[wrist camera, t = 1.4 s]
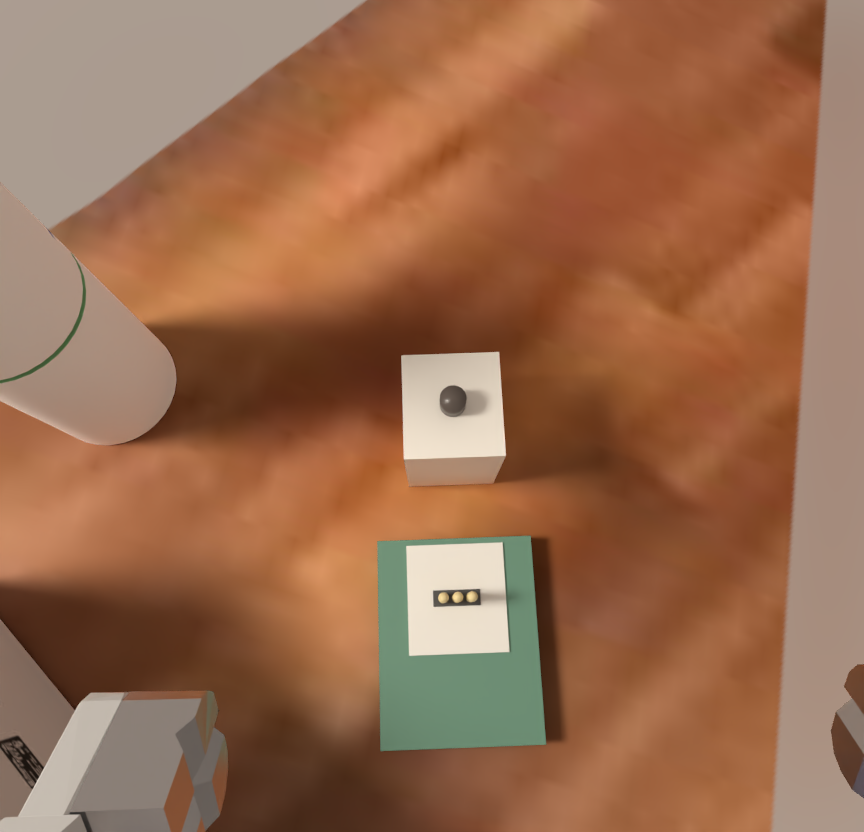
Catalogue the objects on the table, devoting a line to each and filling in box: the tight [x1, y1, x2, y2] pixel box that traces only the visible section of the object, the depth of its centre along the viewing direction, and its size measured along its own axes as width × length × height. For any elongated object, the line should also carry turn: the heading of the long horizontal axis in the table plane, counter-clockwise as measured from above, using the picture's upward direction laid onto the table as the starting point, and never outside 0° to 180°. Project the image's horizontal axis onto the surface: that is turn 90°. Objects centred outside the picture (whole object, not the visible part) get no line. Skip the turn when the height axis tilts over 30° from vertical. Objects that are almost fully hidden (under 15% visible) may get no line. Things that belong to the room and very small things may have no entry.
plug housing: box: [401, 352, 506, 487], centre depth 35 cm, size 5×5×8 cm
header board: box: [377, 536, 546, 751], centre depth 34 cm, size 10×8×3 cm
